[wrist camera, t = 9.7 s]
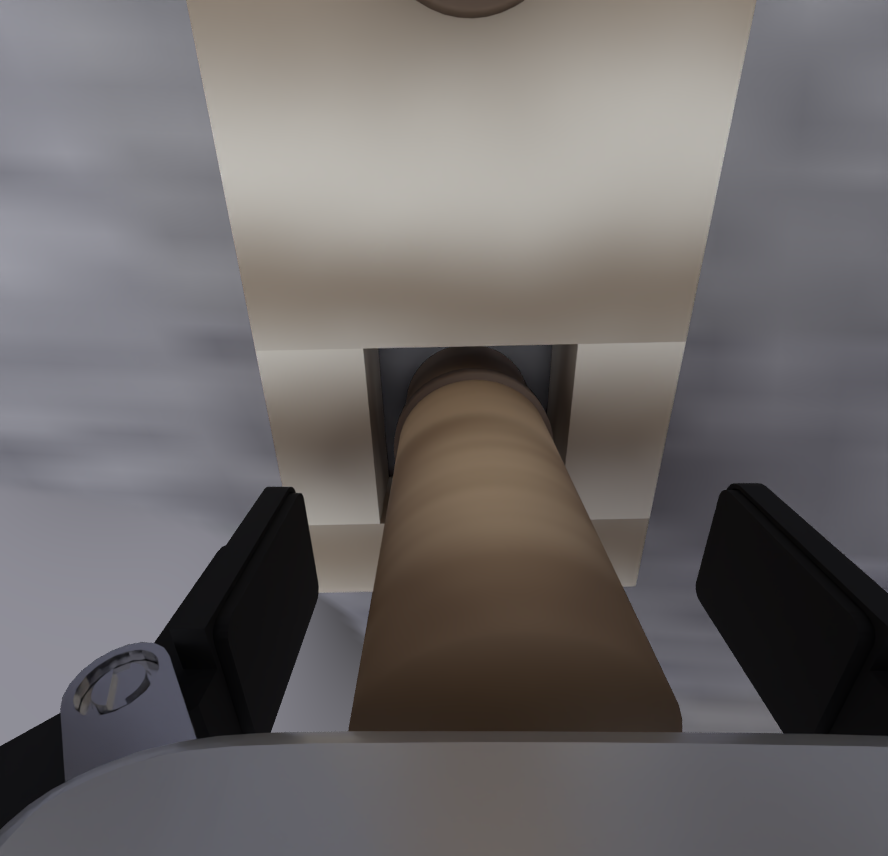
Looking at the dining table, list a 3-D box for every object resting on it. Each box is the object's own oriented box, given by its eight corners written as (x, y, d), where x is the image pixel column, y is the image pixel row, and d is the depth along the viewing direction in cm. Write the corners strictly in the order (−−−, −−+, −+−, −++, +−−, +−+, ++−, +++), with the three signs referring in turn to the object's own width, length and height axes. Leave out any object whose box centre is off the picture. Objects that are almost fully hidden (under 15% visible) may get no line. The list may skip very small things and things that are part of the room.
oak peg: (527, 458, 18) (659, 839, 7) (406, 461, 18) (355, 844, 7) (535, 338, 16) (734, 617, 5) (398, 341, 16) (312, 625, 5)
